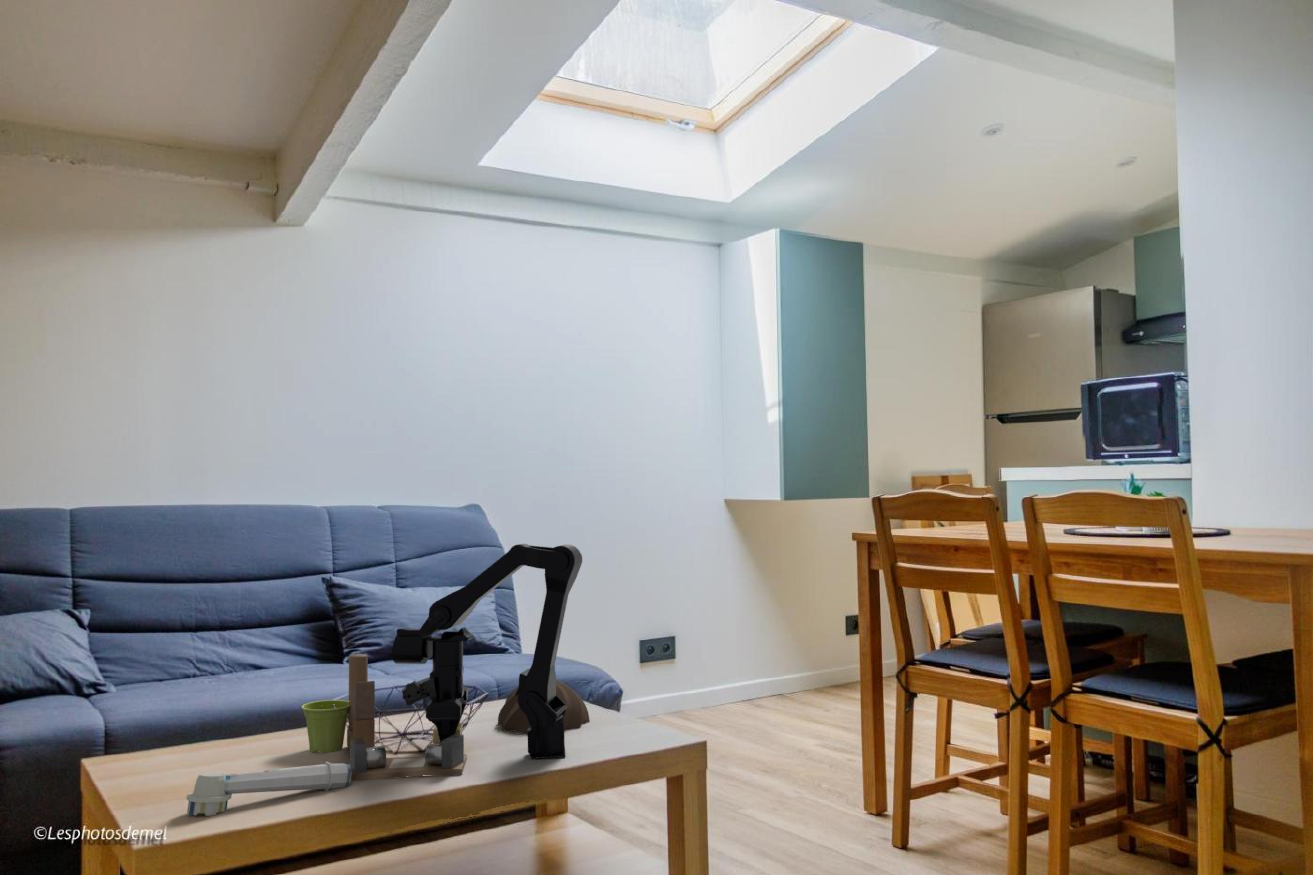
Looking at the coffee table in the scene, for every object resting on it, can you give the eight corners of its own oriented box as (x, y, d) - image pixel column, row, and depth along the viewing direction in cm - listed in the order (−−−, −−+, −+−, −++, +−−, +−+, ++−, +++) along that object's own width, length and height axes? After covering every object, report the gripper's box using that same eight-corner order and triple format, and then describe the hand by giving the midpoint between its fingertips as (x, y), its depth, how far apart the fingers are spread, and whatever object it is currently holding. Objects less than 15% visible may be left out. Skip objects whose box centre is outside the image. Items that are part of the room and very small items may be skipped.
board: (466, 759, 179) (466, 753, 179) (461, 774, 169) (461, 768, 169) (355, 764, 176) (355, 759, 176) (344, 780, 166) (344, 774, 166)
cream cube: (462, 749, 187) (462, 723, 187) (460, 755, 182) (459, 728, 182) (436, 750, 186) (436, 724, 187) (433, 757, 181) (433, 730, 182)
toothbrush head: (354, 765, 162) (196, 771, 147) (349, 806, 161) (189, 817, 146) (343, 758, 167) (188, 765, 151) (337, 799, 166) (181, 809, 150)
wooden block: (355, 759, 180) (355, 662, 182) (346, 746, 190) (346, 654, 191) (375, 756, 182) (375, 660, 183) (365, 744, 192) (365, 653, 193)
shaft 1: (381, 763, 173) (381, 736, 174) (386, 769, 169) (386, 741, 169) (350, 767, 171) (350, 740, 171) (354, 774, 167) (354, 745, 167)
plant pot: (344, 741, 195) (345, 697, 195) (357, 750, 187) (357, 705, 187) (296, 748, 190) (296, 703, 190) (307, 758, 182) (307, 711, 182)
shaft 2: (423, 767, 170) (423, 740, 170) (435, 760, 174) (435, 733, 175) (452, 769, 168) (451, 741, 169) (463, 762, 173) (463, 734, 173)
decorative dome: (545, 739, 194) (544, 688, 195) (478, 726, 206) (478, 679, 207) (607, 721, 209) (607, 674, 210) (542, 710, 222) (542, 666, 222)
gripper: (411, 657, 194) (411, 736, 192) (397, 674, 175) (397, 761, 174) (468, 655, 195) (468, 734, 194) (459, 671, 176) (460, 758, 175)
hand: (448, 746), depth 184 cm, fingers open, 8 cm apart
